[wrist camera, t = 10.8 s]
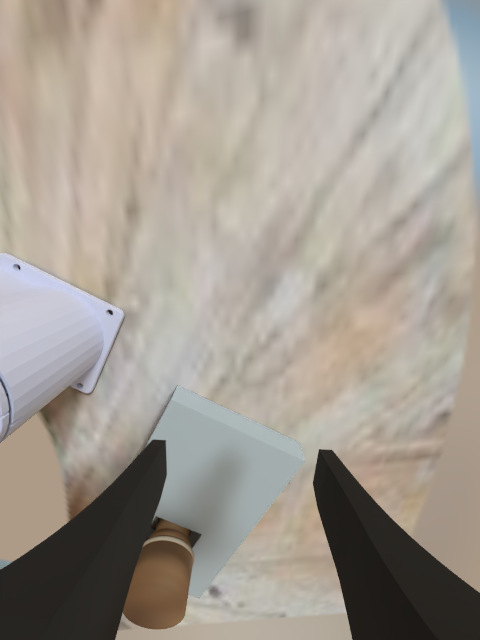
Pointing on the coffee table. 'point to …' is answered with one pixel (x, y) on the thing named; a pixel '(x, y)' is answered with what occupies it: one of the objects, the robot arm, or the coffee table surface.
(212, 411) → the board
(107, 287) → the coffee table surface
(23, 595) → the robot arm
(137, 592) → the peg
